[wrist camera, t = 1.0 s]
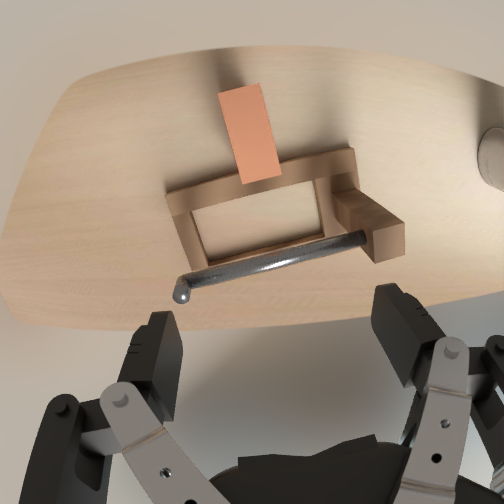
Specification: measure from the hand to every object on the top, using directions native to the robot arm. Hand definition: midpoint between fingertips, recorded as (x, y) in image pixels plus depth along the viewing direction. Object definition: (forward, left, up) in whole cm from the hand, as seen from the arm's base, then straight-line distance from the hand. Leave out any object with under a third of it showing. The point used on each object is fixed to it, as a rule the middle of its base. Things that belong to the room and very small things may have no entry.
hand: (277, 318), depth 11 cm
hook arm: (+1, +5, -14) cm, 15 cm away
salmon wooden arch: (-3, -5, -23) cm, 24 cm away
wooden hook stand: (0, +5, -23) cm, 24 cm away
